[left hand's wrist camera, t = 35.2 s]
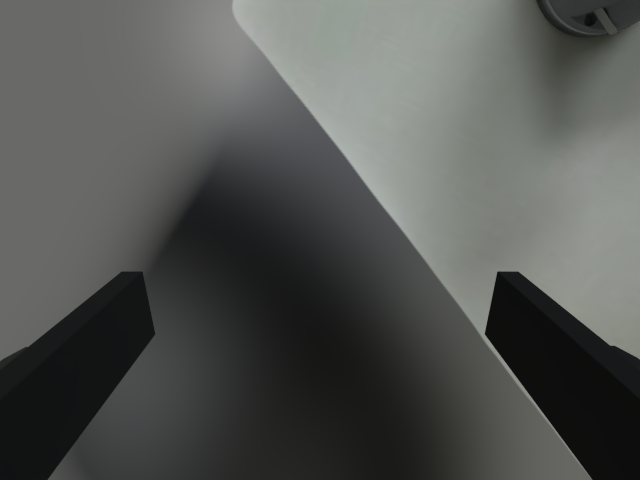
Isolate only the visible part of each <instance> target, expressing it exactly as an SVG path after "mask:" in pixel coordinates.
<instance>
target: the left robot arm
mask: <svg viewBox="0 0 640 480" xmlns="http://www.w3.org/2000/svg"><path fill="white" fill-rule="evenodd" d="M538 2H539V5H540V7H541V9H542V11H543V13H544V14H545V16H546V17H547V18H548V20H549V21H550V22H551V23H552V24H553V25H554V26H556V27H557V28H558V29H560V30H561V31H563V32H565V33H568V34H570V35H574V36H579V37H594V36H600V35H604V34H608V33H609V35H613V34H617V33H619V32H618V30H621V29H624V28H626V27H628V26H630V25H632V24H634V23H636V22H637V21H639V20H640V0H538ZM154 335H155V331H154V326H153V321H152V316H151V311H150V306H149V301H148V296H147V292H146V287H145V282H144V277H143V272H121V273H120V274H118V275H117V276H116V277H115V278H113V279H112V280H111V281H110V282H108V283H107V284H106V285H105V286H103V287H102V288H101V289H100V290H98V291H97V292H96V293H95V294H93V295H92V296H91V297H90V298H89V299H87V300H86V301H85V302H84V303H82V304H81V305H80V306H79V307H77V308H76V309H75V310H74V311H72V312H71V313H70V314H69V315H68V316H66V317H65V318H64V319H63V320H61V321H60V322H59V323H58V324H56V325H55V326H54V327H53V328H51V329H50V330H49V331H48V332H46V333H45V334H44V335H43V336H41V337H40V338H39V339H38V340H36V341H35V342H34V343H33V344H32V345H30V346H29V347H25V348H23V349H21V350H20V351H18V352H16V353H14V354H12V355H10V356H8V357H6V358H4V359H3V360H1V361H0V480H48V478H49V477H50V475H51V474H52V473H53V471H54V470H55V469H56V467H57V466H58V465H59V463H60V462H61V461H62V459H63V458H64V457H65V455H66V454H67V453H68V451H69V450H70V449H71V447H72V446H73V444H74V443H75V442H76V440H77V439H78V438H79V436H80V435H81V434H82V432H83V431H84V430H85V428H86V427H87V426H88V424H89V423H90V422H91V420H92V419H93V417H94V416H95V415H96V413H97V412H98V411H99V409H100V408H101V407H102V405H103V404H104V403H105V401H106V400H107V398H108V397H109V396H110V394H111V393H112V392H113V390H114V389H115V388H116V386H117V385H118V384H119V382H120V381H121V380H122V378H123V377H124V376H125V374H126V373H127V372H128V370H129V369H130V368H131V366H132V365H133V363H134V362H135V361H136V359H137V358H138V357H139V355H140V354H141V353H142V351H143V350H144V349H145V347H146V346H147V344H148V343H149V342H150V340H151V339H152V338H153V336H154ZM485 335H486V336H487V338H488V339H489V341H490V342H491V343H492V345H493V346H494V347H495V349H496V350H497V351H498V353H499V354H500V355H501V357H502V358H503V359H504V361H505V362H506V363H507V365H508V366H509V368H510V369H511V370H512V372H513V373H514V374H515V376H516V377H517V378H518V380H519V381H520V382H521V384H522V385H523V386H524V388H525V389H526V390H527V392H528V393H529V395H530V396H531V397H532V399H533V400H534V401H535V403H536V404H537V405H538V407H539V408H540V409H541V411H542V412H543V413H544V415H545V416H546V417H547V419H548V420H549V422H550V423H551V424H552V426H553V427H554V428H555V430H556V431H557V432H558V434H559V435H560V436H561V438H562V439H563V440H564V442H565V443H566V444H567V446H568V447H569V449H570V450H571V451H572V453H573V454H574V455H575V457H576V458H577V459H578V461H579V462H580V463H581V465H582V466H583V467H584V469H585V470H586V471H587V473H588V474H589V475H590V477H591V478H592V480H640V360H639V359H638V358H637V357H635V356H633V355H631V354H629V353H627V352H625V351H623V350H621V349H620V348H618V347H616V346H610V345H608V344H607V343H606V342H605V341H604V340H602V339H601V338H600V337H599V336H597V335H596V334H595V333H594V332H592V331H591V330H590V329H589V328H587V327H586V326H585V325H584V324H582V323H581V322H580V321H579V320H578V319H576V318H575V317H574V316H573V315H571V314H570V313H569V312H568V311H566V310H565V309H564V308H563V307H561V306H560V305H559V304H558V303H556V302H555V301H554V300H553V299H551V298H550V297H549V296H548V295H547V294H545V293H544V292H543V291H542V290H540V289H539V288H538V287H537V286H535V285H534V284H533V283H532V282H530V281H529V280H528V279H527V278H525V277H524V276H523V275H522V274H520V273H519V272H497V277H496V282H495V287H494V291H493V296H492V301H491V306H490V311H489V316H488V321H487V326H486V331H485Z"/></svg>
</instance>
